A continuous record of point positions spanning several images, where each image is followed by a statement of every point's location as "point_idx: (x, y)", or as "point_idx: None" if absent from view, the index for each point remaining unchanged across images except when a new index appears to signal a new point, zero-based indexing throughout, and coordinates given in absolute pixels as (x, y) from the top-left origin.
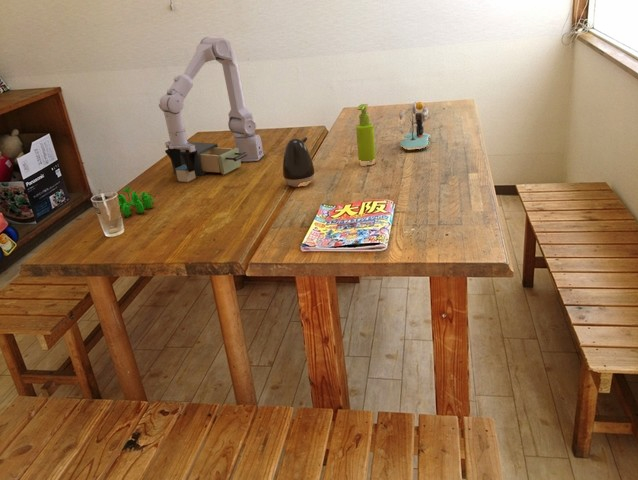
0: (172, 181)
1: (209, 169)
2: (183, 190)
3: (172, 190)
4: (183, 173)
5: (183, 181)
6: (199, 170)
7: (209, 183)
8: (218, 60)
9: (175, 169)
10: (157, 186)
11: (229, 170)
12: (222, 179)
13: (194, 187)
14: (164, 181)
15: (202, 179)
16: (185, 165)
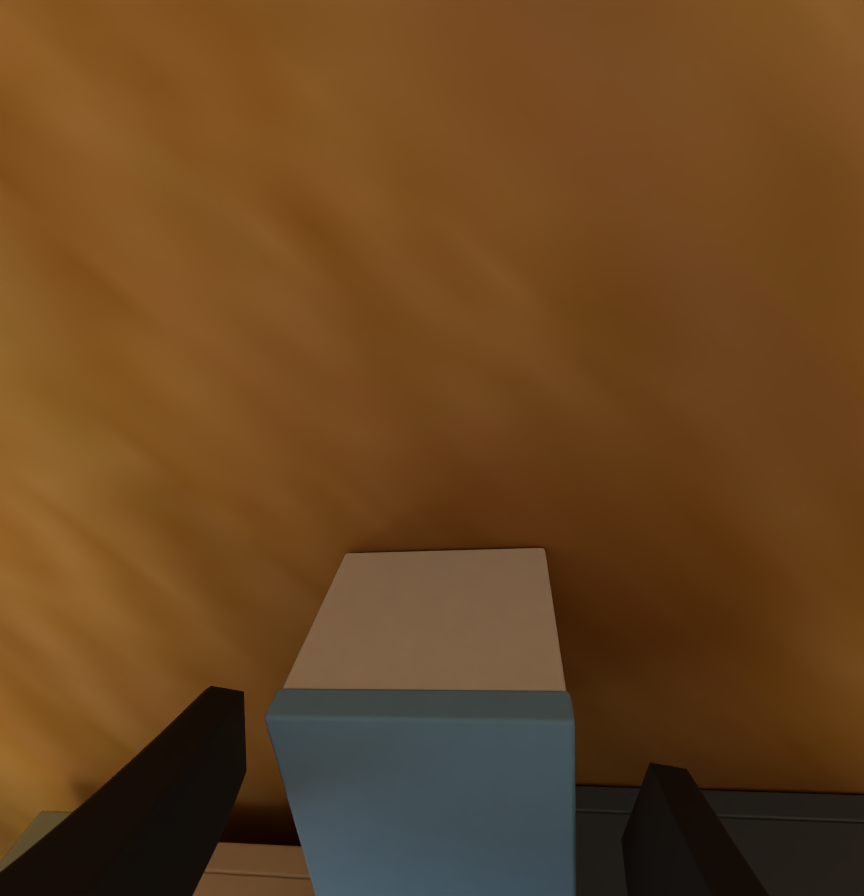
0: (642, 511)
1: (251, 878)
2: (56, 219)
3: (246, 131)
4: (364, 645)
5: (430, 551)
6: None
7: (7, 586)
8: None
9: (565, 700)
10: (775, 197)
11: None
12: (8, 720)
13: (34, 402)
14: (812, 472)
15: (235, 676)
16: (478, 885)
